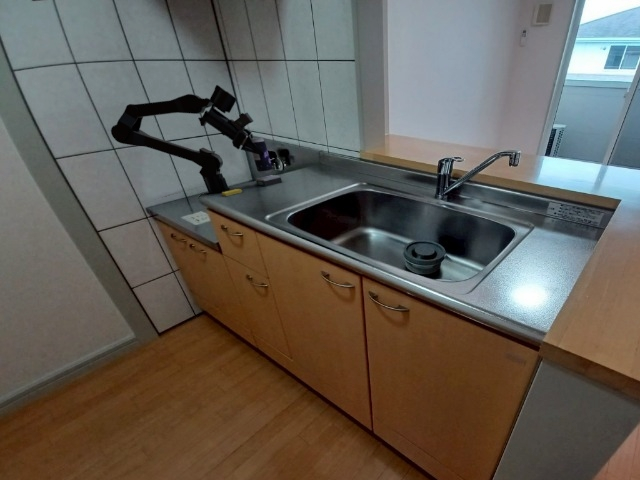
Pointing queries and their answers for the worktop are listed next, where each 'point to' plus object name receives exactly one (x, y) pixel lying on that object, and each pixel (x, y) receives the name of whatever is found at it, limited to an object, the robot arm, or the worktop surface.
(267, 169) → the beverage can
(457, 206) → the worktop surface
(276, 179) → the kitchen scale
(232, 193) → the sponge
